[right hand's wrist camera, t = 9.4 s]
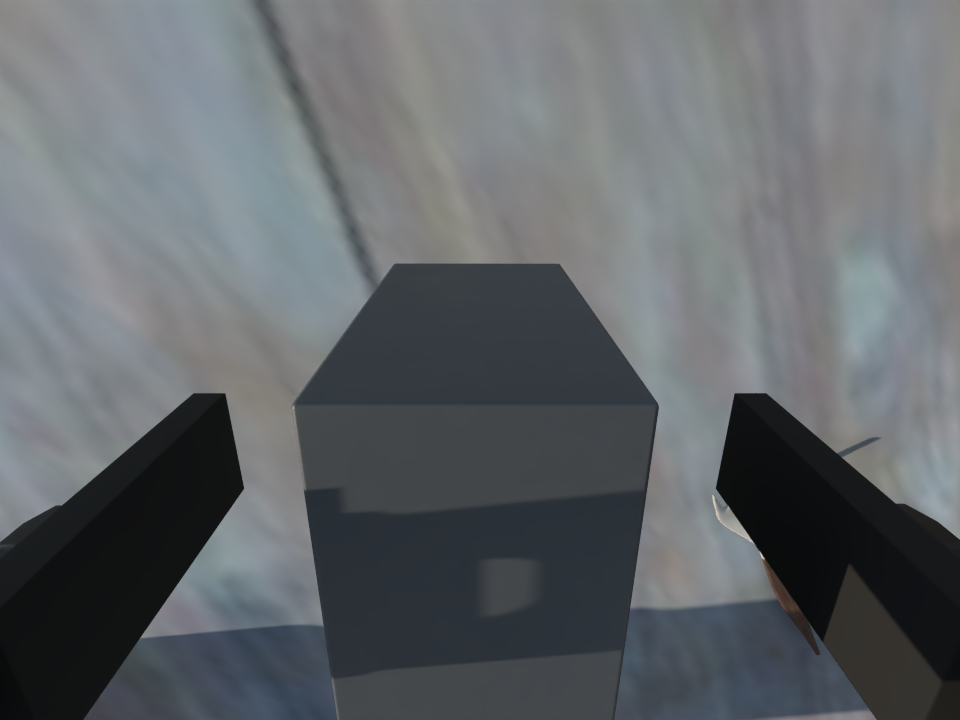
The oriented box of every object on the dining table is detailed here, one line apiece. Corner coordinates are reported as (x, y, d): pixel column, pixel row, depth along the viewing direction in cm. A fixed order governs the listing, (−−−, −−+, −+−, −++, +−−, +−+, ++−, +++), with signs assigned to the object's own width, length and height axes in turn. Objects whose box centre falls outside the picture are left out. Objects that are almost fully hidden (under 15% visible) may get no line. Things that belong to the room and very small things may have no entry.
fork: (793, 655, 34) (811, 684, 32) (694, 475, 29) (709, 498, 27) (833, 639, 33) (854, 668, 31) (739, 453, 28) (758, 475, 26)
